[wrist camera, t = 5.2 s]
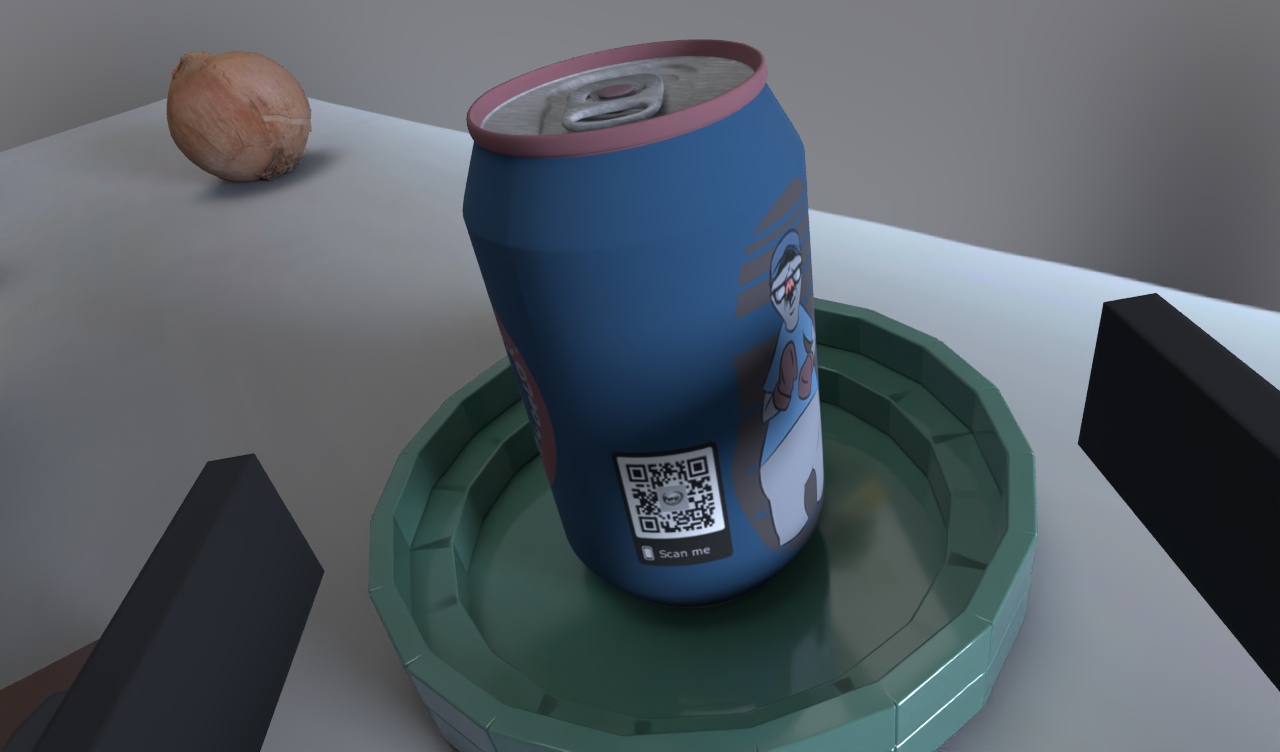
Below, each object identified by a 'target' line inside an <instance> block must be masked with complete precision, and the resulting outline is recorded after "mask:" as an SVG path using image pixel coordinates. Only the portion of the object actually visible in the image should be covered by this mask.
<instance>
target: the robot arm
mask: <svg viewBox="0 0 1280 752" xmlns="http://www.w3.org/2000/svg"><path fill="white" fill-rule="evenodd" d="M1078 445H1079V446H1080V447H1081V448H1082V450H1083V451H1084V452H1085V453H1086V455H1087V456H1088V457H1089V458H1090V460H1091V461H1092V462H1093V463H1094V464H1095V466H1096V467H1097V468H1098V469H1099V471H1100V472H1101V473H1102V474H1103V475H1104V477H1105V478H1106V479H1107V480H1108V482H1109V483H1110V484H1111V485H1112V486H1113V488H1114V489H1115V490H1116V491H1117V493H1118V494H1119V495H1120V496H1121V498H1122V499H1123V500H1124V501H1125V502H1126V504H1127V505H1128V506H1129V507H1130V509H1131V510H1132V511H1133V512H1134V513H1135V515H1136V516H1137V517H1138V518H1139V520H1140V521H1141V522H1142V523H1143V525H1144V526H1145V527H1146V528H1147V529H1148V531H1149V532H1150V533H1151V534H1152V536H1153V537H1154V538H1155V539H1156V540H1157V542H1158V543H1159V544H1160V545H1161V547H1162V548H1163V549H1164V550H1165V552H1166V553H1167V554H1168V555H1169V556H1170V558H1171V559H1172V560H1173V561H1174V563H1175V564H1176V565H1177V566H1178V567H1179V569H1180V570H1181V571H1182V572H1183V574H1184V575H1185V576H1186V577H1187V578H1188V580H1189V581H1190V582H1191V583H1192V585H1193V586H1194V587H1195V588H1196V590H1197V591H1198V592H1199V593H1200V594H1201V596H1202V597H1203V598H1204V599H1205V601H1206V602H1207V603H1208V604H1209V605H1210V607H1211V608H1212V609H1213V610H1214V612H1215V613H1216V614H1217V615H1218V617H1219V618H1220V619H1221V620H1222V621H1223V623H1224V624H1225V625H1226V626H1227V628H1228V629H1229V630H1230V631H1231V632H1232V634H1233V635H1234V636H1235V637H1236V639H1237V640H1238V641H1239V642H1240V643H1241V645H1242V646H1243V647H1244V648H1245V650H1246V651H1247V652H1248V653H1249V655H1250V656H1251V657H1252V658H1253V659H1254V661H1255V662H1256V663H1257V664H1258V666H1259V667H1260V668H1261V669H1262V670H1263V672H1264V673H1265V674H1266V675H1267V677H1268V678H1269V679H1270V680H1271V682H1272V683H1273V684H1274V685H1275V686H1276V688H1277V689H1278V690H1279V691H1280V391H1279V390H1278V389H1277V388H1275V387H1274V386H1273V385H1272V384H1270V383H1269V382H1268V381H1267V380H1265V379H1264V378H1263V377H1261V376H1260V375H1259V374H1258V373H1256V372H1255V371H1254V370H1253V369H1251V368H1250V367H1249V366H1248V365H1246V364H1245V363H1244V362H1243V361H1241V360H1240V359H1239V358H1238V357H1236V356H1235V355H1234V354H1233V353H1231V352H1230V351H1229V350H1227V349H1226V348H1225V347H1224V346H1222V345H1221V344H1220V343H1219V342H1217V341H1216V340H1215V339H1214V338H1212V337H1211V336H1210V335H1209V334H1207V333H1206V332H1205V331H1204V330H1202V329H1201V328H1200V327H1198V326H1197V325H1196V324H1195V323H1193V322H1192V321H1191V320H1190V319H1188V318H1187V317H1186V316H1185V315H1183V314H1182V313H1181V312H1180V311H1178V310H1177V309H1176V308H1175V307H1173V306H1172V305H1171V304H1169V303H1168V302H1167V301H1166V300H1164V299H1163V298H1162V297H1161V296H1159V295H1158V294H1157V293H1154V294H1148V295H1142V296H1137V297H1131V298H1125V299H1120V300H1114V301H1108V302H1104V303H1103V309H1102V314H1101V320H1100V325H1099V331H1098V336H1097V342H1096V347H1095V353H1094V358H1093V364H1092V369H1091V374H1090V380H1089V385H1088V391H1087V396H1086V402H1085V407H1084V413H1083V418H1082V424H1081V429H1080V435H1079V440H1078ZM323 574H324V570H323V568H322V566H321V565H320V563H319V561H318V560H317V558H316V556H315V555H314V553H313V551H312V549H311V548H310V546H309V544H308V543H307V541H306V539H305V538H304V536H303V534H302V533H301V531H300V529H299V528H298V526H297V524H296V523H295V521H294V519H293V518H292V516H291V514H290V513H289V511H288V509H287V507H286V506H285V504H284V502H283V501H282V499H281V497H280V496H279V494H278V492H277V491H276V489H275V487H274V486H273V484H272V482H271V481H270V479H269V477H268V476H267V474H266V472H265V471H264V469H263V467H262V465H261V464H260V462H259V460H258V459H257V457H256V455H255V454H254V453H253V454H248V455H242V456H237V457H231V458H225V459H220V460H214V461H208V462H207V463H206V465H205V467H204V468H203V470H202V472H201V473H200V475H199V477H198V478H197V480H196V481H195V483H194V485H193V486H192V488H191V490H190V491H189V493H188V495H187V496H186V498H185V500H184V501H183V503H182V504H181V506H180V508H179V509H178V511H177V513H176V514H175V516H174V518H173V519H172V521H171V523H170V524H169V526H168V527H167V529H166V531H165V532H164V534H163V536H162V537H161V539H160V541H159V542H158V544H157V546H156V547H155V549H154V550H153V552H152V554H151V555H150V557H149V559H148V560H147V562H146V564H145V565H144V567H143V569H142V570H141V572H140V573H139V575H138V577H137V578H136V580H135V582H134V583H133V585H132V587H131V588H130V590H129V592H128V593H127V595H126V596H125V598H124V600H123V601H122V603H121V605H120V606H119V608H118V610H117V611H116V613H115V615H114V616H113V618H112V619H111V621H110V623H109V624H108V626H107V628H106V629H105V631H104V633H103V634H102V636H101V638H100V639H99V641H98V642H97V644H96V646H95V647H94V649H93V651H92V652H91V654H90V656H89V657H88V659H87V661H86V662H85V664H84V665H83V667H82V669H81V670H80V672H79V674H78V675H77V677H76V679H75V680H74V682H73V684H72V685H71V687H70V688H69V690H64V691H58V692H52V693H51V694H50V695H49V696H48V697H47V698H46V699H45V700H44V701H43V702H42V703H41V704H40V705H39V706H38V707H37V708H36V709H35V710H34V711H33V712H32V713H31V714H30V715H29V716H28V717H27V718H26V719H25V720H24V721H23V722H22V724H21V725H20V726H19V727H18V728H17V729H16V730H15V731H14V732H13V733H12V734H11V736H10V737H9V739H8V740H7V742H6V744H5V745H4V747H3V748H2V750H1V751H0V752H260V750H261V747H262V745H263V742H264V739H265V736H266V733H267V731H268V728H269V725H270V722H271V719H272V717H273V714H274V711H275V708H276V705H277V703H278V700H279V697H280V694H281V691H282V689H283V686H284V683H285V680H286V677H287V675H288V672H289V669H290V666H291V663H292V661H293V658H294V655H295V652H296V649H297V647H298V644H299V641H300V638H301V635H302V633H303V630H304V627H305V624H306V621H307V619H308V616H309V613H310V610H311V607H312V605H313V602H314V599H315V596H316V593H317V591H318V588H319V585H320V582H321V580H322V577H323Z"/></svg>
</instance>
